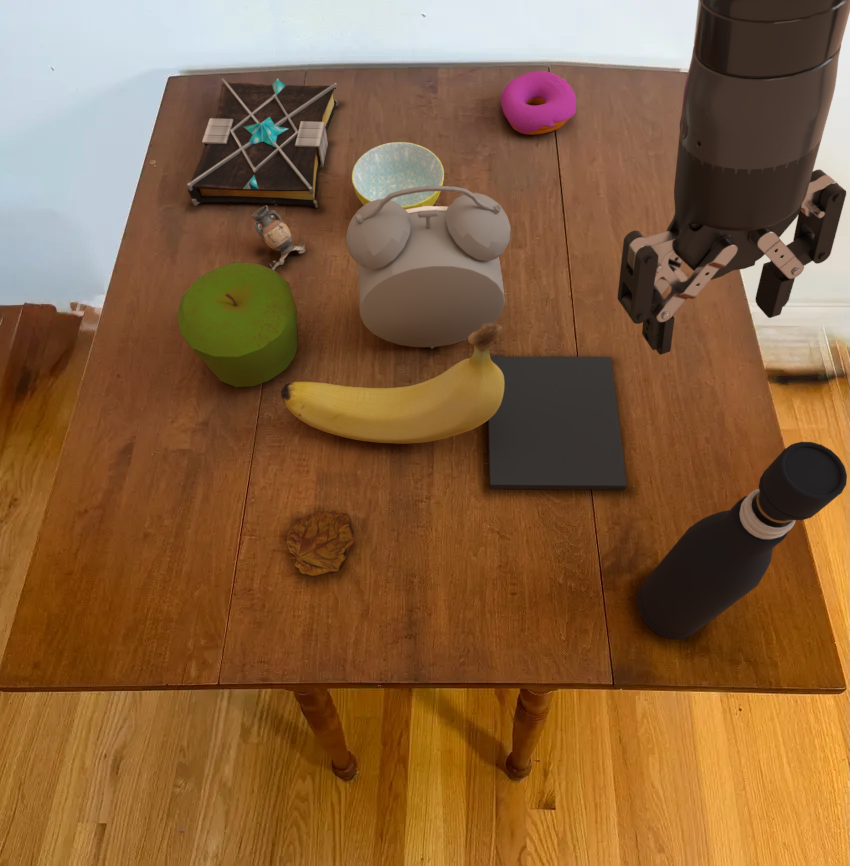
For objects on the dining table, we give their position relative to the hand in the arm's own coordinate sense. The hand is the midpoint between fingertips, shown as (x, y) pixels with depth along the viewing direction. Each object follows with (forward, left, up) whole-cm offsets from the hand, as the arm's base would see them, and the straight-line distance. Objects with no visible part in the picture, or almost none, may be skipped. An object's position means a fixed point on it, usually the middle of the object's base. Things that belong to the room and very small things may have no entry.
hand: (713, 327), depth 53 cm
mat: (+8, -6, -25) cm, 27 cm away
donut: (+7, -56, -25) cm, 62 cm away
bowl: (+26, -38, -25) cm, 52 cm away
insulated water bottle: (-2, +14, -25) cm, 29 cm away
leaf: (+32, +8, -25) cm, 42 cm away
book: (+45, -49, -25) cm, 71 cm away
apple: (+42, -15, -25) cm, 51 cm away
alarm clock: (+22, -18, -25) cm, 38 cm away
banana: (+26, -5, -25) cm, 36 cm away
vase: (+41, -31, -25) cm, 57 cm away
